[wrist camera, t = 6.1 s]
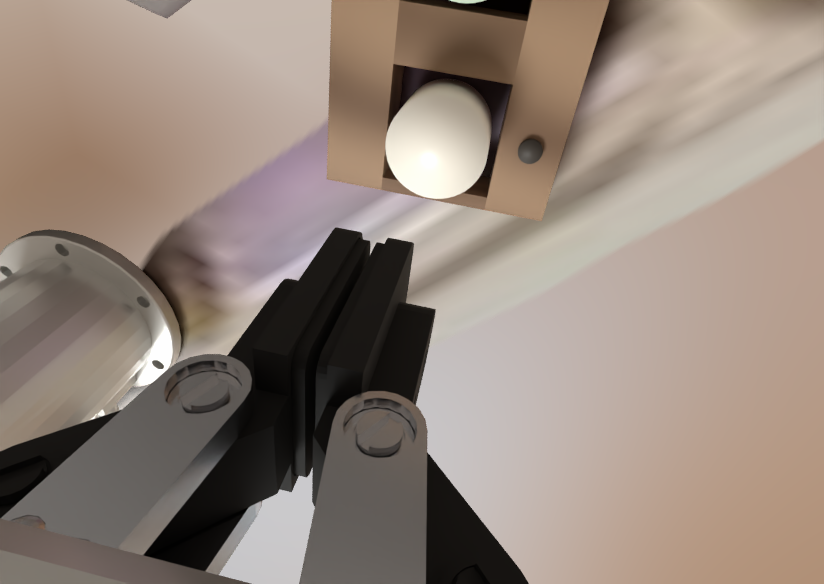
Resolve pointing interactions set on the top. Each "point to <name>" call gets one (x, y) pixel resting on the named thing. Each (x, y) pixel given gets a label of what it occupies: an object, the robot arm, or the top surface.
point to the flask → (161, 6)
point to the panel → (466, 56)
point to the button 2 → (467, 1)
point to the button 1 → (440, 139)
